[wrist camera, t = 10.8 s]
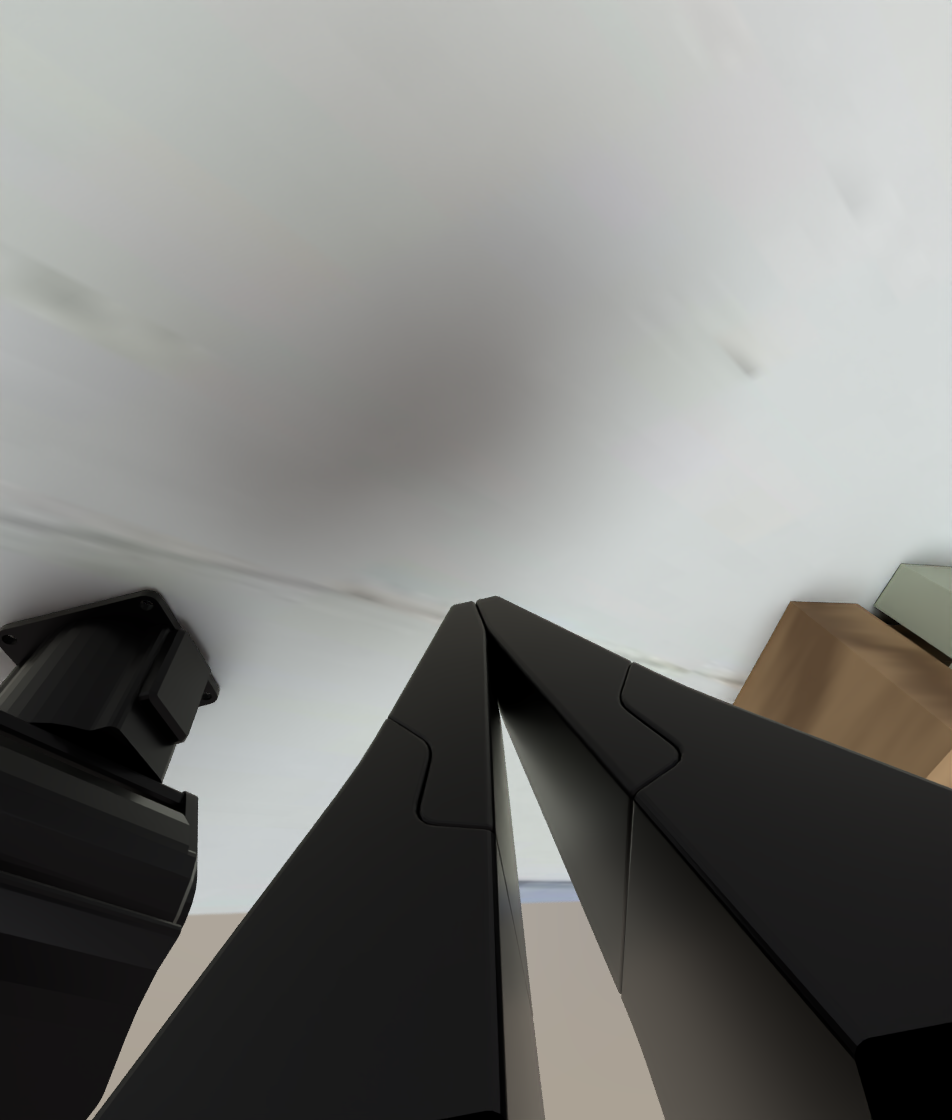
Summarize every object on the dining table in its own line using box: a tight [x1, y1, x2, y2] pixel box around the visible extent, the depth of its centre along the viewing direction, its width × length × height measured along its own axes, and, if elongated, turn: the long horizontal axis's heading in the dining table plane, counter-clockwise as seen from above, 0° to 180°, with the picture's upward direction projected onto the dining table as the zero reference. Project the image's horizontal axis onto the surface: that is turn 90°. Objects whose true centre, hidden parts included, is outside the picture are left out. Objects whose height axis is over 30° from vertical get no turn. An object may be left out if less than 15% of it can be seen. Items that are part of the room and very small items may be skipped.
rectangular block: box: [733, 601, 952, 788], centre depth 29 cm, size 13×9×10 cm
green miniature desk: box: [874, 564, 952, 669], centre depth 32 cm, size 9×16×6 cm, turn 170°
